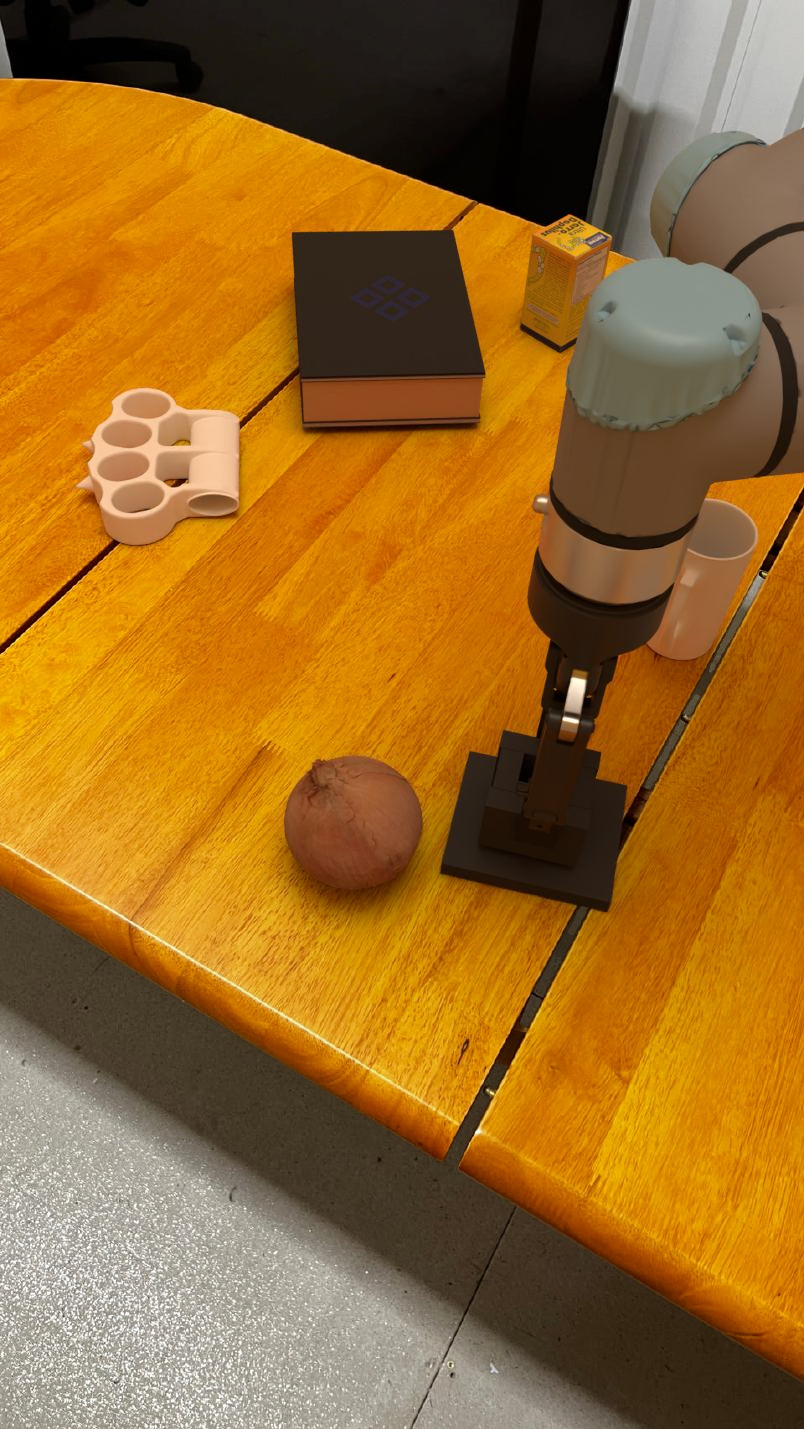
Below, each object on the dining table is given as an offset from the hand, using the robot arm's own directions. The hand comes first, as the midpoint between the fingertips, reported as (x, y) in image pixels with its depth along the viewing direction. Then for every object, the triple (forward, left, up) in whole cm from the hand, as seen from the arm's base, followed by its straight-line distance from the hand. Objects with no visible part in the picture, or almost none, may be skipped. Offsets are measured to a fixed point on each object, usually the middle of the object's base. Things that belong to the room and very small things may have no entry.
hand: (543, 796), depth 76 cm
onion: (+12, +5, -5) cm, 14 cm away
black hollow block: (0, 0, -3) cm, 3 cm away
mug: (-8, -21, -5) cm, 23 cm away
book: (+25, -53, -5) cm, 59 cm away
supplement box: (+8, -63, -5) cm, 64 cm away
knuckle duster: (+40, -29, -5) cm, 50 cm away
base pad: (0, 0, -5) cm, 5 cm away
